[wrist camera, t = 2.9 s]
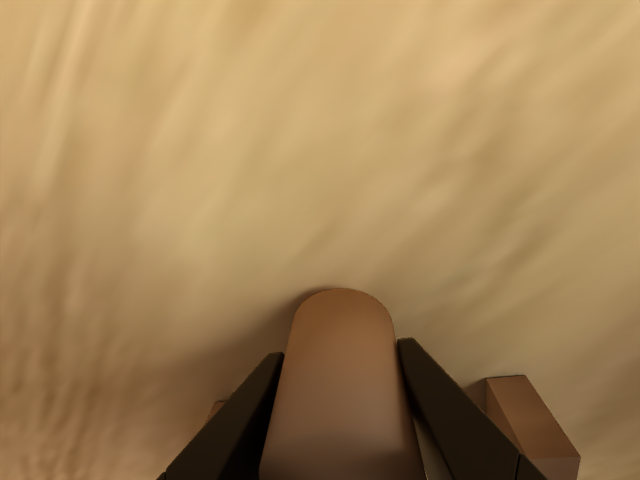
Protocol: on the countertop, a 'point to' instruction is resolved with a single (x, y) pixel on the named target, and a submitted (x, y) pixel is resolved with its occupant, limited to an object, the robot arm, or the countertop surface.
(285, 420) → the tethered block
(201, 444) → the robot arm
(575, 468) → the shelf lane
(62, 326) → the countertop surface
